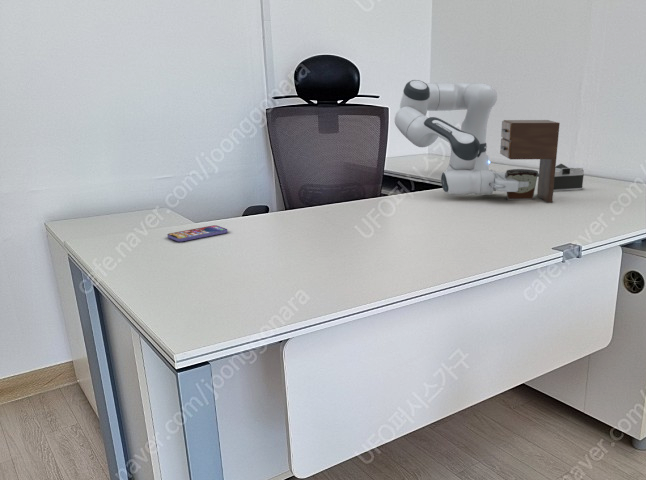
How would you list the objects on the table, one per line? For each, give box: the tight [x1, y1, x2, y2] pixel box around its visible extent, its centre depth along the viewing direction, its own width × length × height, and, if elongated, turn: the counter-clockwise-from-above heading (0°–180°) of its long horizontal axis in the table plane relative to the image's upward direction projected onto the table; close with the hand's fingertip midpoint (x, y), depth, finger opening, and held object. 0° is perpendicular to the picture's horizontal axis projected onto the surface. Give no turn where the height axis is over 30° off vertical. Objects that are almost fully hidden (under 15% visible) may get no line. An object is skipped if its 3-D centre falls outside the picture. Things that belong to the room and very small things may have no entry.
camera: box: [553, 163, 585, 192], centre depth 232 cm, size 16×9×10 cm, turn 108°
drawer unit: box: [499, 119, 561, 204], centre depth 210 cm, size 14×17×27 cm
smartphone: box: [166, 224, 228, 242], centre depth 164 cm, size 1×7×15 cm
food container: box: [504, 168, 539, 200], centre depth 215 cm, size 12×6×10 cm, turn 94°
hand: (525, 181), depth 213 cm, fingers open, 7 cm apart
